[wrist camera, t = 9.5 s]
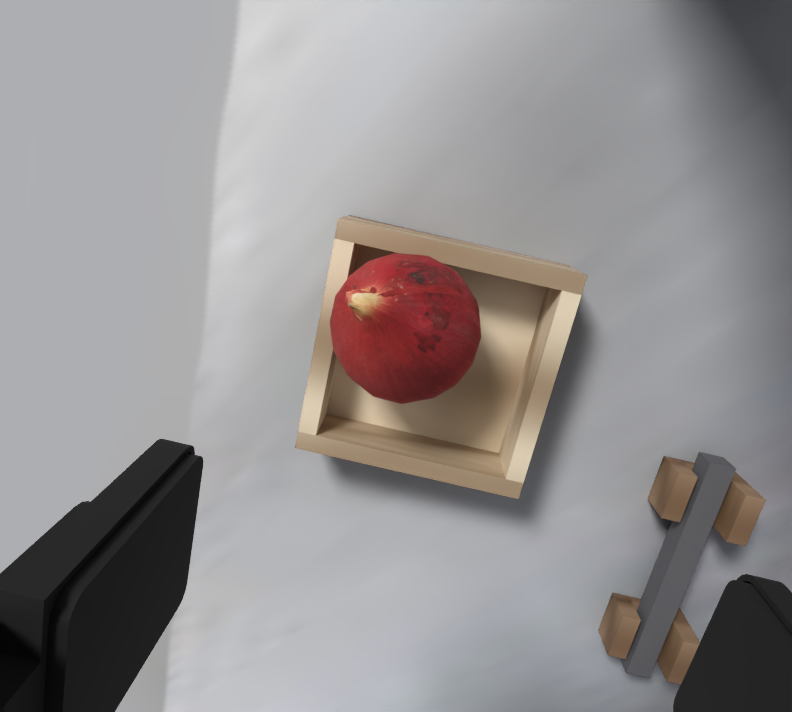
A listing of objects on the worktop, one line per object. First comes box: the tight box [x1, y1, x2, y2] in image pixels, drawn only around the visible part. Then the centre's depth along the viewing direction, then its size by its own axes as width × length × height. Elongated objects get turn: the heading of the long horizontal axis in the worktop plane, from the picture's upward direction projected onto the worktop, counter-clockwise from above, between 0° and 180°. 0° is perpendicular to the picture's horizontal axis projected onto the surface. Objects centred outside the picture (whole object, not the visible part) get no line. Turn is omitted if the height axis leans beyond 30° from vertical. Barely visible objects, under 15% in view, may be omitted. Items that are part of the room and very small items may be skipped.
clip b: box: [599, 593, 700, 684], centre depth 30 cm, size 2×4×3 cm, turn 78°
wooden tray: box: [295, 215, 588, 499], centre depth 27 cm, size 10×10×4 cm
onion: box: [330, 253, 481, 404], centre depth 23 cm, size 6×6×8 cm
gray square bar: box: [620, 452, 736, 678], centre depth 29 cm, size 12×1×1 cm, turn 167°
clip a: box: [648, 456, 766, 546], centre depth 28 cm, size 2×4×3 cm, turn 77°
